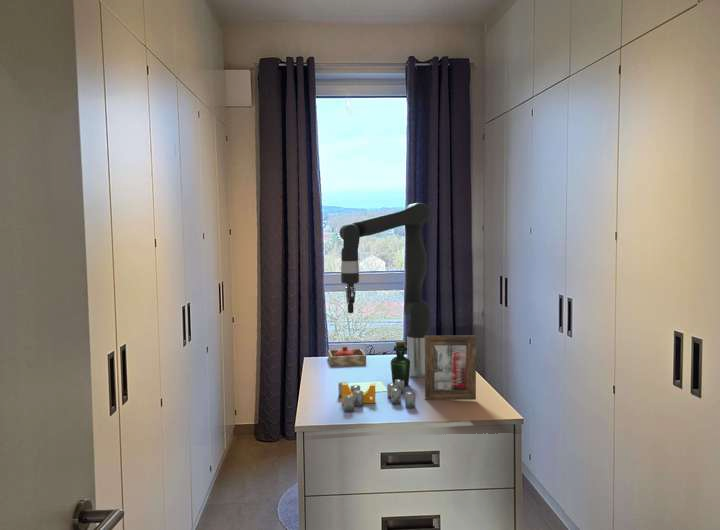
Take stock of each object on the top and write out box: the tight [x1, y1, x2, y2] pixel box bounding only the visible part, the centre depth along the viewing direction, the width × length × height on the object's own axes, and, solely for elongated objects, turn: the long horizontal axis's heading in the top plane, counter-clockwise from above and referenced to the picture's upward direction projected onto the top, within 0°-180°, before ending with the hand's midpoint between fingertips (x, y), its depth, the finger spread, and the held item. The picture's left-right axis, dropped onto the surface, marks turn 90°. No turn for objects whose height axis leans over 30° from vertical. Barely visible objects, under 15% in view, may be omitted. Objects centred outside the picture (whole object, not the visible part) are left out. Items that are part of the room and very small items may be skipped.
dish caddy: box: [327, 348, 367, 367], centre depth 250 cm, size 17×16×5 cm
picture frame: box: [424, 335, 477, 401], centre depth 191 cm, size 19×2×24 cm, turn 87°
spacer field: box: [337, 379, 416, 413], centre depth 190 cm, size 26×21×5 cm
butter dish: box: [336, 345, 355, 356], centre depth 249 cm, size 12×12×8 cm
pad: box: [347, 381, 387, 393], centre depth 208 cm, size 16×14×1 cm
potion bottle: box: [390, 339, 410, 388], centre depth 211 cm, size 8×8×18 cm
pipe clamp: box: [341, 382, 376, 405], centre depth 188 cm, size 12×4×6 cm, turn 86°
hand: (350, 312), depth 217 cm, fingers closed
